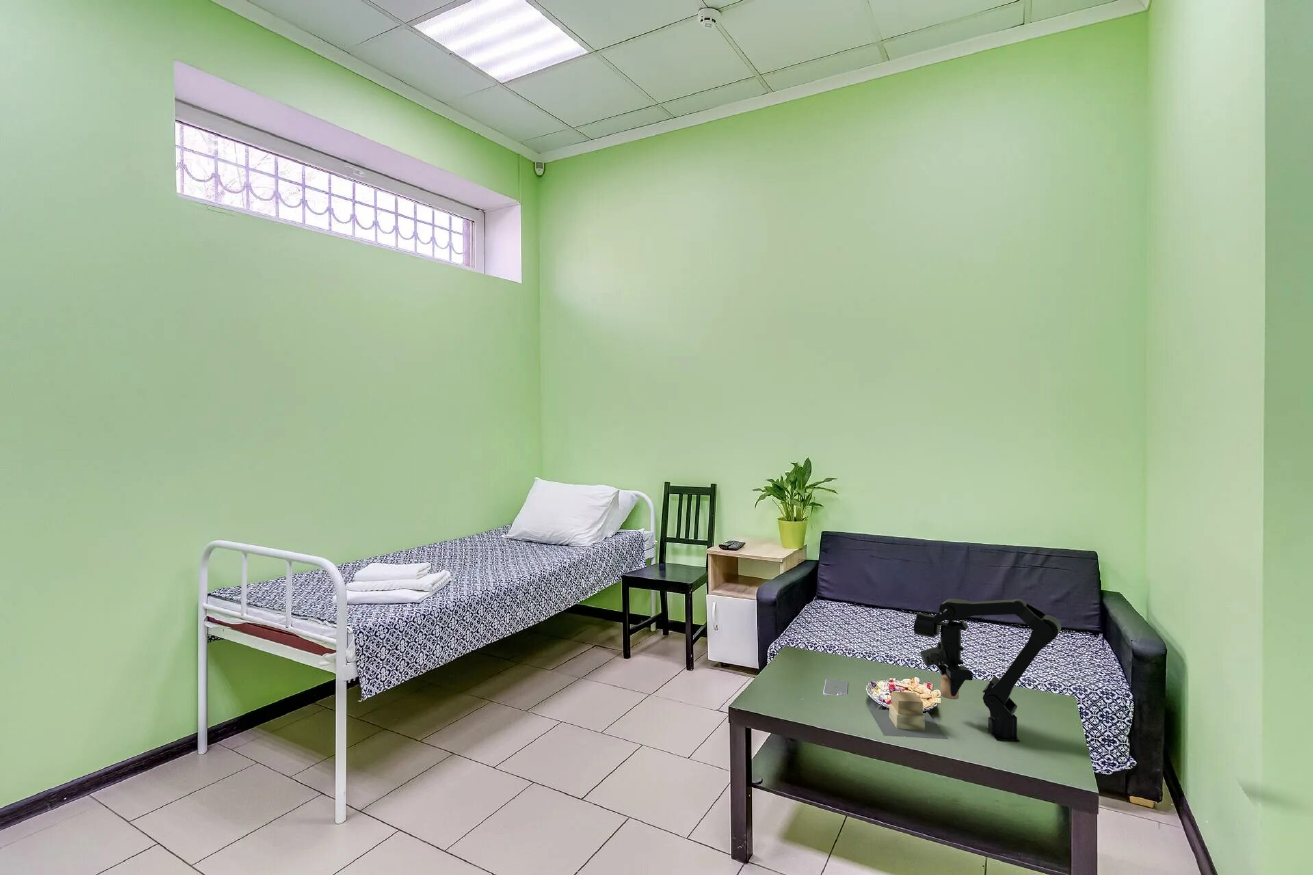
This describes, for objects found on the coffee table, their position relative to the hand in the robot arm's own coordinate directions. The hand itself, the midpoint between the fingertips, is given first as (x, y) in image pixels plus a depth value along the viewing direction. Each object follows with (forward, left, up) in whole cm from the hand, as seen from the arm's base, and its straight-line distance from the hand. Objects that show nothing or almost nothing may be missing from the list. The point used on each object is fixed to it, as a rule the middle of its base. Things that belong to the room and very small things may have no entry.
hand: (949, 692), depth 191 cm
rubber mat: (+14, +4, -9) cm, 17 cm away
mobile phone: (+30, -22, -9) cm, 38 cm away
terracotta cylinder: (0, 0, -1) cm, 1 cm away
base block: (+14, +4, -8) cm, 17 cm away
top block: (+14, +4, -4) cm, 15 cm away
